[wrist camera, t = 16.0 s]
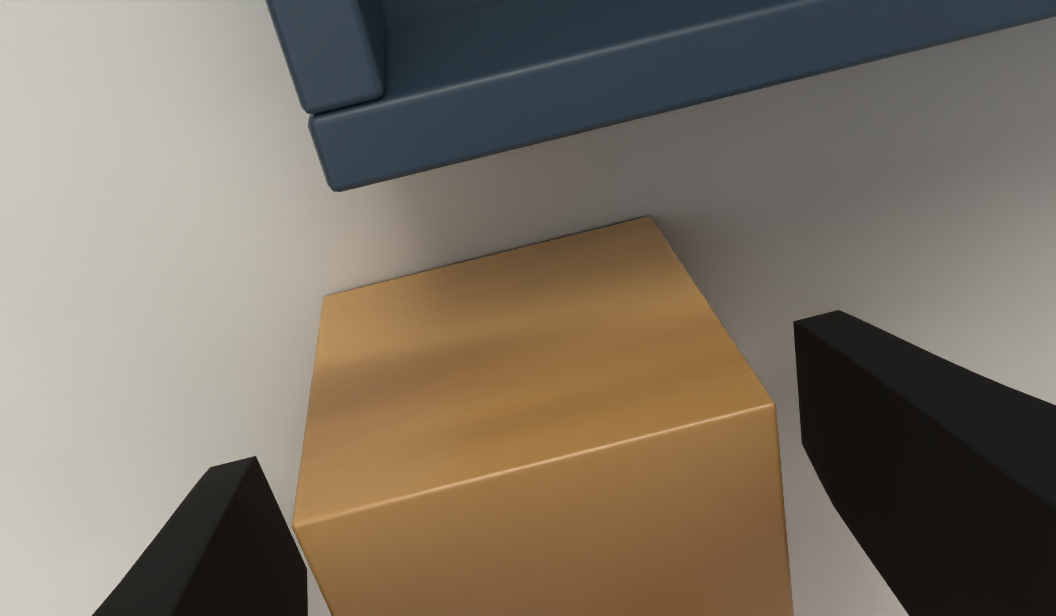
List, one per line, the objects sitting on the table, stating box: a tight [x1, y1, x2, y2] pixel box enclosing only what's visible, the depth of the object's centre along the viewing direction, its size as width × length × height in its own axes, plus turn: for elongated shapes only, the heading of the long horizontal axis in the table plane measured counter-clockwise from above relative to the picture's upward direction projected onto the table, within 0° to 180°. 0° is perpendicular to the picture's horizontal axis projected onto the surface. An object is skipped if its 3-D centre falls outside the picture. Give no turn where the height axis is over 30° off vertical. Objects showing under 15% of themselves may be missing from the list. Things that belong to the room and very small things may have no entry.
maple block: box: [292, 216, 794, 616], centre depth 11 cm, size 4×4×4 cm
